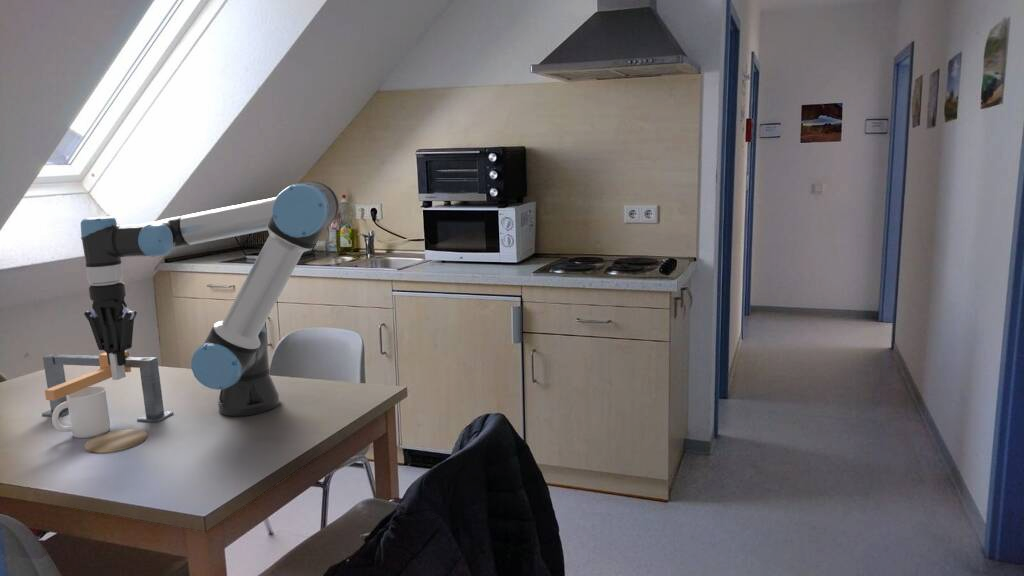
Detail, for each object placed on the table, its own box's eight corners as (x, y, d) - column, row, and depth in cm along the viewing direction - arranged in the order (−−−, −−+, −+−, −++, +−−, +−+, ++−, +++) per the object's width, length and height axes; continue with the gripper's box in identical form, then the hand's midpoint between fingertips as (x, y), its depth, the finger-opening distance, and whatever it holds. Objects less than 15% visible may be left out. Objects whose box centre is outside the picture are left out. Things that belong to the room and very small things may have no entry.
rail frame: (173, 414, 195) (166, 356, 192) (157, 422, 190) (150, 362, 187) (60, 407, 204) (52, 352, 201) (42, 415, 198) (33, 358, 195)
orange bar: (131, 371, 195) (128, 350, 194) (59, 400, 173) (56, 377, 172) (114, 370, 196) (111, 350, 195) (41, 399, 174) (37, 376, 173)
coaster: (159, 433, 182) (158, 430, 182) (119, 454, 170) (119, 452, 170) (113, 430, 185) (112, 427, 185) (71, 451, 173) (71, 448, 173)
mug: (59, 446, 176) (52, 404, 174) (51, 437, 182) (44, 396, 180) (115, 431, 184) (109, 391, 182) (105, 423, 190) (99, 384, 188)
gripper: (140, 279, 181) (152, 374, 186) (95, 279, 184) (107, 372, 189) (118, 285, 174) (131, 384, 179) (70, 285, 177) (84, 381, 182)
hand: (119, 378), depth 184 cm, fingers closed
